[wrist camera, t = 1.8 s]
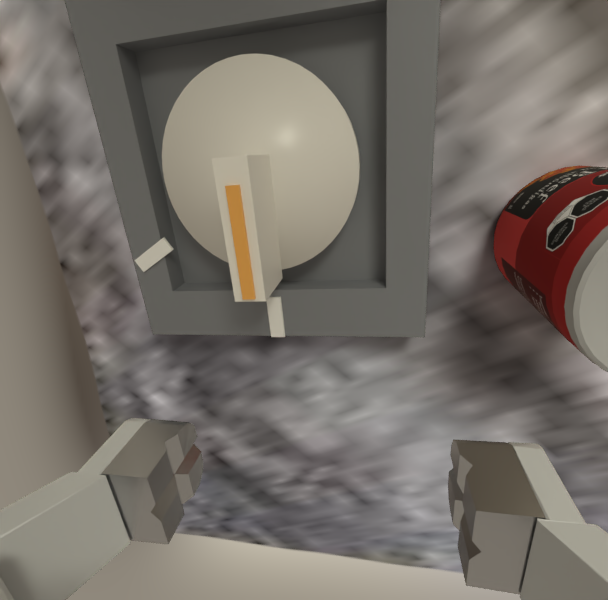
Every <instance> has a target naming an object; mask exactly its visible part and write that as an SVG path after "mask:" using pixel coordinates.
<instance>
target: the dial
mask: <svg viewBox="0 0 608 600" xmlns="http://www.w3.org/2000/svg"><path fill="white" fill-rule="evenodd" d="M162 168H163V175H164V181H165V185H166V189H167V192H168V196H169V198H170V201H171V203H172V206H173V208H174V210H175V212H176V214H177V216H178V217H179V219H180V221H181V222H182V224H183V225H184V227H185V228H186V229H187V231H188V232H189V233H190V234H191V235H192V237H193V238H194V239H195V240H196V241H197V242H198V243H199V244H200V245H202V246H203V247H204V248H205V249H206V250H208V251H209V252H210V253H212V254H213V255H215V256H216V257H218V258H220V259H221V260H223V261H225V262H228V263H229V268H230V274H231V280H232V286H233V292H234V298H235V302H256V301H267V299H268V298H269V296H270V295H271V294H272V292H273V291H274V289H275V288H276V287H277V285H278V284H279V282H280V281H281V280H282V278H283V277H282V269H287V268H291V267H294V266H297V265H299V264H302V263H304V262H306V261H308V260H310V259H311V258H313V257H315V256H316V255H317V254H319V253H320V252H321V251H323V250H324V249H325V248H326V247H327V246H328V245H329V244H330V243H331V242H332V241H333V240H334V239H335V237H336V236H337V235H338V234H339V232H340V231H341V229H342V228H343V226H344V224H345V223H346V221H347V219H348V217H349V214H350V212H351V210H352V208H353V205H354V202H355V199H356V195H357V192H358V187H359V181H360V153H359V147H358V142H357V138H356V134H355V132H354V129H353V126H352V123H351V121H350V119H349V117H348V115H347V113H346V111H345V110H344V108H343V107H342V105H341V104H340V102H339V101H338V99H337V98H336V96H335V95H334V94H333V93H332V92H331V90H330V89H329V88H328V87H327V86H326V85H325V84H324V83H323V82H322V81H321V80H320V79H319V78H317V77H316V76H315V75H314V74H313V73H312V72H310V71H308V70H307V69H305V68H304V67H302V66H300V65H299V64H296V63H294V62H292V61H289V60H287V59H285V58H281V57H277V56H273V55H267V54H257V53H255V54H241V55H237V56H233V57H229V58H226V59H223V60H221V61H219V62H216V63H214V64H213V65H211V66H209V67H208V68H206V69H204V70H203V71H202V72H200V73H199V74H198V75H197V76H196V77H195V78H193V79H192V80H191V82H190V83H189V84H188V85H187V86H186V87H185V88H184V89H183V91H182V93H181V94H180V96H179V97H178V99H177V100H176V102H175V104H174V106H173V108H172V110H171V112H170V115H169V118H168V121H167V124H166V127H165V132H164V137H163V145H162Z"/></svg>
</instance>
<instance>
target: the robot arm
mask: <svg viewBox="0 0 608 600" xmlns="http://www.w3.org/2000/svg"><path fill="white" fill-rule="evenodd" d="M197 437H198V436H197V433H196V429H195V426H194V425H193V424H191V423H188V422H177V421H166V420H155V419H151V420H149V419H139V418H131V419H129V420H126V421H125V422H124V423H123V424H122V425H121V426H120V427H119V428H118V429H117V430H116V431H115V432H114V433H113V435H112V436H111V437H110V438H109V439H108V440H107V441H106V442H105V443H104V444H103V445H102V446H101V447H100V448H99V450H98V451H97V452H96V453H95V454H94V455H93V456H92V457H91V458H90V459H89V460H88V461H87V462H86V464H85V465H84V466H83V467H82V468H81V469H80V470H79V471H78V472H70V473H68V474H66V475H64V476H62V477H60V478H58V479H57V480H55V481H53V482H51V483H49V484H47V485H46V486H44V487H42V488H40V489H38V490H36V491H34V492H32V493H31V494H29V495H27V496H25V497H23V498H21V499H19V500H18V501H16V502H14V503H12V504H10V505H8V506H6V507H5V508H3V509H1V510H0V600H66V599H68V598H69V597H70V596H71V595H72V594H73V593H74V592H76V591H77V590H78V589H79V588H80V587H81V586H82V585H84V583H86V582H87V581H88V580H89V579H90V578H91V577H92V576H94V575H95V574H96V573H97V572H98V571H99V570H101V569H102V568H103V567H104V566H105V565H106V564H107V563H109V562H110V561H111V560H112V559H113V558H114V557H115V556H117V555H118V554H119V553H120V552H121V551H122V550H123V549H125V548H126V547H127V546H128V545H129V544H130V543H131V541H130V540H132V541H141V542H151V543H162V544H169V542H170V540H171V538H172V536H173V535H174V533H175V531H176V529H177V527H178V525H179V523H180V521H181V520H182V518H183V516H184V510H183V504H184V503H185V502H186V501H188V500H189V499H190V498H192V497H193V496H194V495H195V493H196V491H197V489H198V487H199V485H200V481H201V477H202V473H203V457H202V453H201V451H200V450H199V449H198V448H197V447H196V446H195V445H194V444H193V443H194V442H195V440H196V438H197ZM450 455H451V459H452V463H453V469H452V470H450V471H449V479H448V493H449V505H450V511H451V517H452V522H453V524H454V525H455V527H456V528H457V529H458V530H459V540H458V550H459V555H460V559H461V564H462V569H463V573H464V578H465V582H466V585H467V586H472V587H478V588H484V589H491V590H496V591H503V592H508V593H514V594H520V598H521V600H608V533H606V532H605V531H604V530H602V529H601V528H600V527H599V526H597V525H593V524H586V523H585V521H584V519H583V518H582V516H581V514H580V512H579V511H578V509H577V507H576V505H575V504H574V502H573V500H572V498H571V497H570V495H569V493H568V492H567V490H566V488H565V486H564V485H563V483H562V481H561V479H560V478H559V476H558V474H557V472H556V471H555V469H554V467H553V465H552V464H551V462H550V460H549V459H548V457H547V455H546V453H545V452H544V450H543V448H542V447H541V446H539V445H538V444H533V443H512V442H508V443H505V442H487V441H470V440H453V442H452V445H451V454H450Z"/></svg>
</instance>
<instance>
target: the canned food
mask: <svg viewBox="0 0 608 600" xmlns="http://www.w3.org/2000/svg"><path fill="white" fill-rule="evenodd" d="M494 254H495V260H496V262H497V265H498V267H499V270H500V271H501V272H502V274H503V275H504V277H505V278H506V279H507V280H508V281H509V282H510V283H511V284H512V285H513V286H514V287H515V288H516V289H517V290H518V291H519V292H520V293H521V294H522V295H523V296H524V297H525V298H526V299H527V300H528V301H529V302H530V303H531V304H532V305H533V306H534V307H535V308H536V309H537V310H538V311H539V312H540V313H541V314H542V315H543V316H544V317H545V318H546V319H547V320H548V321H549V322H550V323H551V324H552V325H553V326H554V327H555V328H556V329H557V330H558V331H559V332H560V333H561V334H562V335H563V336H564V337H565V338H566V339H567V340H568V341H569V342H571V343H572V344H573V345H574V346H575V347H576V348H577V349H578V350H579V351H580V352H581V353H583V354H584V355H585V356H586V357H587V358H588V359H589V360H590V361H592V362H593V363H594V364H596V365H598V366H599V367H600V368H601V369H603V370H605V371H607V372H608V168H606V167H591V166H573V167H565V168H561V169H558V170H555V171H552V172H549V173H547V174H545V175H543V176H541V177H539V178H537V179H535V180H534V181H532V182H531V183H529V184H528V185H526V186H525V187H524V188H522V189H521V190H520V191H519V192H518V193H517V194H516V195H515V196H514V197H513V198H512V199H511V200H510V201H509V203H508V204H507V206H506V207H505V208H504V210H503V211H502V214H501V216H500V218H499V220H498V222H497V226H496V229H495V233H494Z"/></svg>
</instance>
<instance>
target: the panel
mask: <svg viewBox="0 0 608 600" xmlns="http://www.w3.org/2000/svg"><path fill="white" fill-rule="evenodd" d="M440 3H441V0H65V4H66V8H67V11H68V15H69V19H70V23H71V27H72V30H73V34H74V38H75V42H76V45H77V49H78V53H79V57H80V61H81V64H82V68H83V72H84V76H85V79H86V83H87V87H88V91H89V95H90V98H91V102H92V106H93V110H94V114H95V117H96V121H97V125H98V129H99V132H100V136H101V140H102V144H103V148H104V151H105V155H106V159H107V163H108V166H109V170H110V174H111V178H112V182H113V185H114V189H115V193H116V197H117V201H118V204H119V208H120V212H121V216H122V219H123V223H124V227H125V231H126V235H127V238H128V242H129V246H130V250H131V253H132V257H133V261H134V265H135V269H136V272H137V276H138V280H139V284H140V288H141V291H142V295H143V299H144V303H145V306H146V310H147V314H148V318H149V322H150V325H151V329H152V333H153V334H158V335H250V336H271V337H285V336H343V337H425V324H426V302H427V281H428V260H429V238H430V217H431V195H432V174H433V153H434V131H435V110H436V89H437V67H438V46H439V25H440ZM255 53H257V54H267V55H273V56H277V57H281V58H285V59H287V60H289V61H292V62H294V63H296V64H299V65H300V66H302V67H304V68H305V69H307V70H308V71H310V72H312V73H313V74H314V75H315V76H316V77H317V78H319V79H320V80H321V81H322V82H323V83H324V84H325V85H326V86H327V87H328V88H329V89H330V90H331V92H332V93H333V94H334V95H335V96H336V98H337V99H338V101H339V102H340V104H341V105H342V107H343V108H344V110H345V111H346V113H347V115H348V117H349V119H350V121H351V123H352V126H353V129H354V132H355V134H356V138H357V142H358V147H359V153H360V181H359V187H358V192H357V195H356V199H355V202H354V205H353V208H352V210H351V212H350V214H349V217H348V219H347V221H346V223H345V224H344V226H343V228H342V229H341V231H340V232H339V234H338V235H337V236H336V237H335V239H334V240H333V241H332V242H331V243H330V244H329V245H328V246H327V247H326V248H325V249H324V250H323V251H321V252H320V253H319V254H317V255H316V256H315V257H313V258H311V259H310V260H308V261H306V262H304V263H302V264H299V265H297V266H294V267H291V268H287V269H282V277H283V278H282V280H281V281H280V282H279V284H278V285H277V287H276V288H275V289H274V291H273V292H272V294H271V295H270V296H269V298H268V299H267V301H256V302H235V298H234V292H233V286H232V280H231V274H230V268H229V263H228V262H225V261H223V260H221V259H220V258H218V257H216V256H215V255H213V254H212V253H210V252H209V251H208V250H206V249H205V248H204V247H203V246H202V245H200V244H199V243H198V242H197V241H196V240H195V239H194V238H193V237H192V235H191V234H190V233H189V232H188V231H187V229H186V228H185V227H184V225H183V224H182V222H181V221H180V219H179V217H178V216H177V214H176V212H175V210H174V208H173V206H172V203H171V201H170V198H169V196H168V192H167V189H166V185H165V181H164V175H163V168H162V145H163V137H164V132H165V127H166V124H167V121H168V118H169V115H170V112H171V110H172V108H173V106H174V104H175V102H176V100H177V99H178V97H179V96H180V94H181V93H182V91H183V89H184V88H185V87H186V86H187V85H188V84H189V83H190V82H191V80H192V79H193V78H195V77H196V76H197V75H198V74H199V73H200V72H202V71H203V70H204V69H206V68H208V67H209V66H211V65H213V64H214V63H216V62H219V61H221V60H223V59H226V58H229V57H233V56H237V55H241V54H255Z"/></svg>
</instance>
